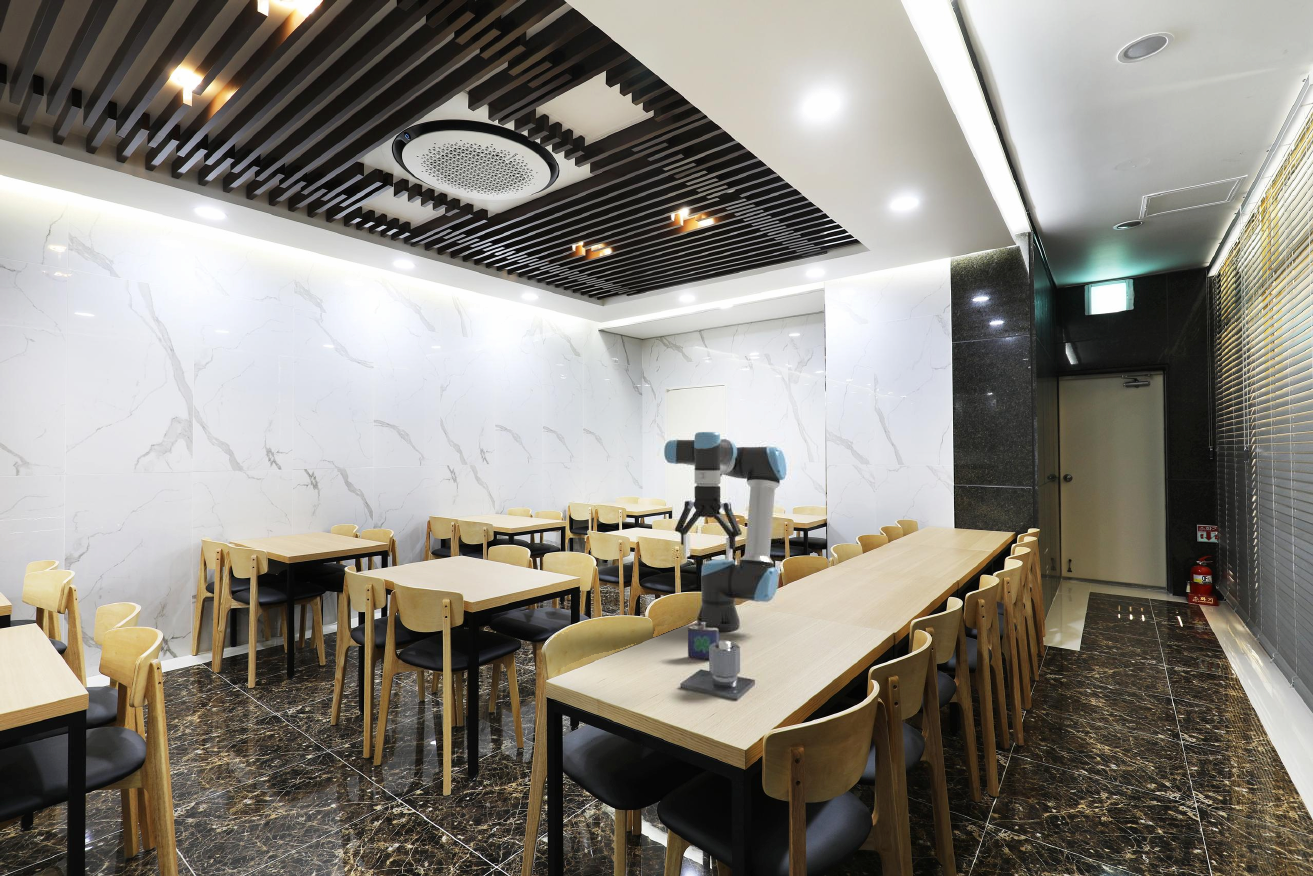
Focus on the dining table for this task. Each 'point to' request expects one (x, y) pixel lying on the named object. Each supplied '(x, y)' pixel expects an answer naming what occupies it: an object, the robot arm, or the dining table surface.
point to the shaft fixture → (718, 681)
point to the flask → (701, 641)
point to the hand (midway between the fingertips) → (707, 558)
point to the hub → (724, 660)
